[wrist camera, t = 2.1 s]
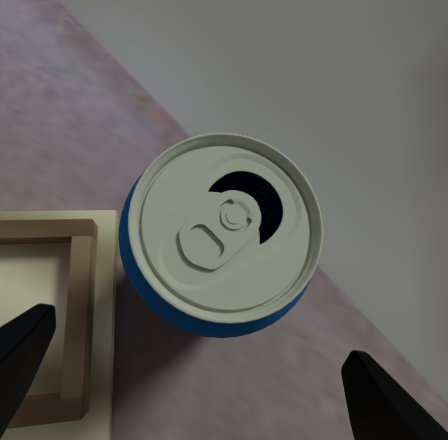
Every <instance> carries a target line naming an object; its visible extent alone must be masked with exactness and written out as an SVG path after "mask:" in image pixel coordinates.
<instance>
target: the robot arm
mask: <svg viewBox="0 0 448 440" xmlns="http://www.w3.org/2000/svg"><path fill="white" fill-rule="evenodd" d="M55 330H56V309H55V306H54V305H51V304H44V303H39V304H36V305H35V306H33V307H32V308H30V309H28V310H27V311H25V312H23V313H22V314H20V315H19V316H17V317H15V318H14V319H12V320H11V321H9V322H7V323H6V324H4V325H2V326H1V327H0V440H1V438H2V436H3V434H4V433H5V431H6V429H7V427H8V426H9V424H10V422H11V420H12V419H13V417H14V415H15V413H16V412H17V410H18V408H19V406H20V405H21V403H22V401H23V400H24V398H25V396H26V394H27V392H28V390H29V389H30V387H31V385H32V382H33V380H34V378H35V376H36V374H37V371H38V369H39V367H40V365H41V362H42V360H43V358H44V356H45V354H46V351H47V349H48V347H49V345H50V342H51V340H52V338H53V336H54V333H55ZM341 374H342V380H343V386H344V391H345V397H346V402H347V408H348V413H349V419H350V423H351V428H352V432H353V435H354V439H355V440H448V432H447V431H446V430H445V429H444V428H443V427H442V426H441V425H440V424H439V423H438V422H437V421H436V420H435V419H434V418H433V417H432V416H431V415H430V414H429V413H428V412H427V411H426V410H425V409H424V408H423V407H422V406H421V405H420V404H419V403H418V402H417V401H416V400H415V399H413V398H412V397H411V396H410V395H409V394H408V393H407V392H406V391H405V390H404V389H403V388H402V387H401V386H400V385H399V384H398V383H397V382H396V381H395V380H394V379H393V378H392V377H391V376H390V375H389V374H388V373H387V372H386V371H385V370H384V369H383V368H382V367H381V366H380V365H379V364H378V363H377V362H376V361H375V360H374V359H373V358H372V357H371V356H370V355H369V354H368V353H366V352H364V351H358V350H353V351H351V353H350V354H349V356H348V357H347V359H346V361H345V362H344V364H343V366H342V370H341Z"/></svg>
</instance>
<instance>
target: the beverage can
mask: <svg viewBox="0 0 448 440" xmlns="http://www.w3.org/2000/svg"><path fill="white" fill-rule="evenodd" d="M322 243H323V221H322V215H321V210H320V206H319V203H318V200H317V197H316V195H315V193H314V190H313V188H312V187H311V185H310V183H309V181H308V180H307V178H306V177H305V176H304V174H303V173H302V171H301V170H300V169H299V168H298V167H297V166H296V165H295V164H294V163H293V162H292V161H291V160H290V159H289V158H288V157H287V156H285V155H284V154H283V153H281V152H280V151H279V150H277V149H276V148H274V147H272V146H270V145H268V144H267V143H265V142H262V141H260V140H257V139H255V138H251V137H248V136H244V135H240V134H233V133H209V134H203V135H199V136H195V137H191V138H188V139H185V140H183V141H181V142H179V143H177V144H175V145H173V146H172V147H170V148H168V149H167V150H165V151H164V152H163V153H162V154H160V155H159V156H158V157H157V158H156V159H155V160H154V161H153V162H152V163H151V164H150V165H149V166H148V167H147V169H146V170H145V171H144V173H143V174H142V175H141V176H140V177H139V178H138V180H137V181H136V183H135V184H134V186H133V187H132V189H131V191H130V193H129V195H128V197H127V199H126V201H125V204H124V207H123V210H122V214H121V219H120V225H119V247H120V255H121V259H122V263H123V267H124V269H125V272H126V274H127V277H128V279H129V281H130V283H131V285H132V286H133V288H134V290H135V291H136V293H137V294H138V295H139V297H140V298H141V299H142V301H143V302H144V303H145V304H146V305H147V306H148V307H149V308H150V309H151V310H152V311H153V312H154V313H155V314H157V315H158V316H159V317H161V318H162V319H163V320H165V321H166V322H168V323H170V324H172V325H173V326H175V327H177V328H179V329H181V330H184V331H187V332H190V333H192V334H196V335H201V336H206V337H217V338H227V337H238V336H242V335H247V334H251V333H253V332H256V331H259V330H261V329H264V328H265V327H267V326H269V325H271V324H273V323H274V322H276V321H277V320H279V319H280V318H281V317H282V316H284V315H285V314H286V313H287V312H288V311H289V310H290V309H291V308H292V307H293V306H294V305H295V304H296V303H297V301H298V300H299V299H300V297H301V296H302V295H303V293H304V291H305V290H306V288H307V286H308V284H309V282H310V280H311V277H312V275H313V273H314V271H315V269H316V267H317V264H318V261H319V258H320V254H321V250H322Z"/></svg>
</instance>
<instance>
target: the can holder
mask: <svg viewBox="0 0 448 440" xmlns="http://www.w3.org/2000/svg"><path fill="white" fill-rule="evenodd" d="M117 239H118V214H117V212H116V210H91V211H0V327H1V326H2V325H4V324H6V323H7V322H9V321H11V320H12V319H14V318H15V317H17V316H19V315H20V314H22V313H23V312H25V311H27V310H28V309H30V308H32V307H33V306H35V305H36V304H39V303H44V304H51V305H54V306H55V309H56V330H55V333H54V336H53V338H52V340H51V342H50V345H49V347H48V349H47V351H46V354H45V356H44V358H43V360H42V362H41V365H40V367H39V369H38V371H37V374H36V376H35V378H34V380H33V382H32V385H31V387H30V389H29V390H28V392H27V394H26V396H25V398H24V400H23V401H22V403H21V405H20V406H19V408H18V410H17V412H16V413H15V415H14V417H13V419H12V420H11V422H10V424H9V426H8V427H7V429H6V431H5V433H4V434H3V436H2V438H1V440H111V430H112V398H113V366H114V334H115V303H116V271H117Z"/></svg>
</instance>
